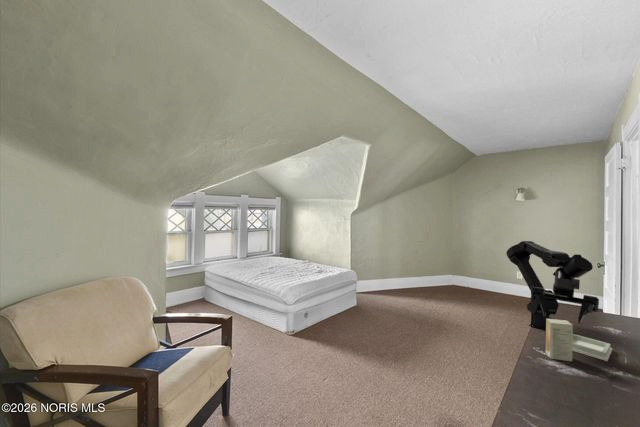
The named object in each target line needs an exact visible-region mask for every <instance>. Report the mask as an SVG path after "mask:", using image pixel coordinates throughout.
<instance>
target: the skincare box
mask: <svg viewBox="0 0 640 427" xmlns="http://www.w3.org/2000/svg"><path fill="white" fill-rule="evenodd" d="M573 334H574V325H573V323H571V322H569V321H568V320H567V319H566V320H563V319H556V318H555V319H554V318H553V319H547V318H546V331H545V354H546V355H547V357H548V358H549V359H552V360H558V361H567V362H573V351H572V348H573Z"/></svg>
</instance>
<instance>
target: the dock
mask: <svg viewBox="0 0 640 427" xmlns="http://www.w3.org/2000/svg"><path fill="white" fill-rule="evenodd" d="M572 352H575V353H579V354H582V355H586V356H588V357H591V358H596V359H598V360H602V361H605V362H608V361H609V358H610V357H611V355H612V352H613V348H612V347H611V343H609V342H606V341H605V342H604V341H601V340H598V339H594V338H591V337H587V336H583V335H579V334H575V333H573V348H572Z"/></svg>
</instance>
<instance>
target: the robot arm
mask: <svg viewBox="0 0 640 427" xmlns="http://www.w3.org/2000/svg"><path fill="white" fill-rule="evenodd" d="M505 255H506V256H507V258H508V260H509V261H510V262H511V263H512V264H514V265H515V266H517V268H518V270H519V272H520V273H521V275H522V277H523V279H524V282H525V283H526V285H527V286H528V288H529V291H530V302H528V304H526V310H527V311H529V312H530V314H531V315H530V324H529V327H532V328H535V329H537V330H542V331H545V332H546V318H547V319H554V318H553V317H552V315H553V316H554V315H556V314H557V312H558V309H559V307H560V305H559V302H558V301H561V302H565V303H571V304H576V305H581V306H580V311H579V315H578V319H577V324H579V325H580V324H581V323H582V321H583V320H584V318H585V317H586V316H587V315H588V314H592V313H593V312H594V313H598V312H599V306H600V304H599V303H600V299H599V298H598V297H597V296H593V295H587V294H583V296H582V297H583V298H580V297H574V294H575V290H580V284H581V282H580V281H581V280H580V279H579V278H581V277H583V276H584V275H586V274H588V273H589V272H591V271H592V270H593V264H592V262H590V261H589V260H588V259H586V258H585V257H582V255H581V254H578V253H577V254H573V255H572V256H571V257H570V255H569V254H568V253H567V252H564V251H563V252H562V251H555V250H551V249H548V248H546V247H544V246H543V245H540V244H537V243H535V241H532V240H531V241H529V240H522V241H520V242H518V243H517V244H515V245H511V246H510V247H509V248H508V249H507V250H506V254H505ZM531 255H534V256H536V257H538V258H539V259H541V262H542V263H543V264H545V265H546V267H548V268H556V269H555V271H554V272H553V273H552V275H553V276H554V282H553V286H552V290H550V289H549V290H548V289H547V290H546V289H545V288H544V285H543V284H542V283H541V280H540V279H539V277H538V275H537V273H536V272H535V270H534V268H533V267H532V264H531V262H530V259H531ZM576 278H577V279H576ZM532 325H533V326H532Z"/></svg>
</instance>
